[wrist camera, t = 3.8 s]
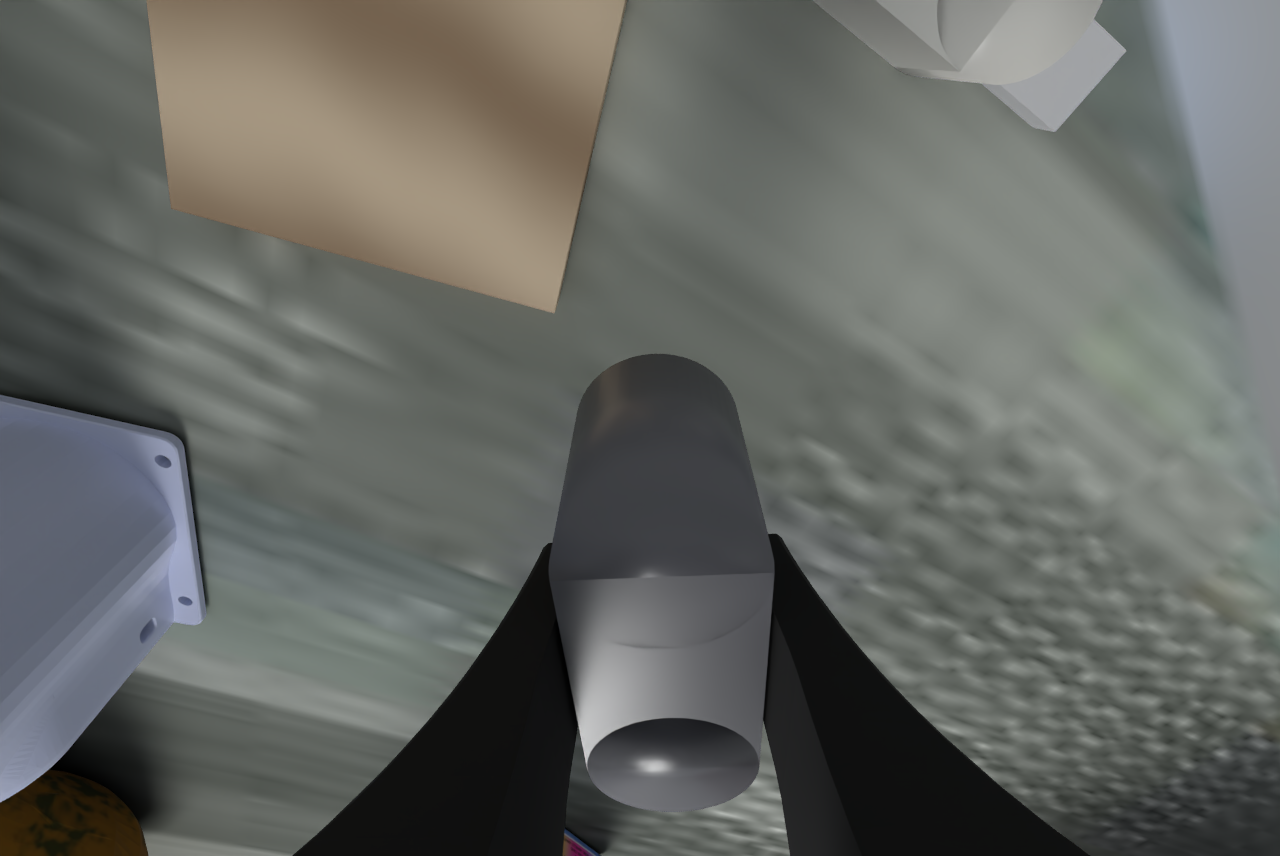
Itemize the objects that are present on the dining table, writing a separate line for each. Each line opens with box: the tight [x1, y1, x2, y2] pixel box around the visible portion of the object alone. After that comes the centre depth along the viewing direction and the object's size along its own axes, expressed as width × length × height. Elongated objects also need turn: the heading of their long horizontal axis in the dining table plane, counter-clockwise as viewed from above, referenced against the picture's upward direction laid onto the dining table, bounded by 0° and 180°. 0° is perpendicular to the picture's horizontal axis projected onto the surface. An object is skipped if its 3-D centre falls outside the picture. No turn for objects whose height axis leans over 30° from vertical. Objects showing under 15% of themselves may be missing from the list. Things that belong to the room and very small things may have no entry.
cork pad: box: [147, 0, 627, 313], centre depth 14 cm, size 10×10×1 cm
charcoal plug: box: [549, 354, 775, 812], centre depth 12 cm, size 10×3×4 cm, turn 4°
